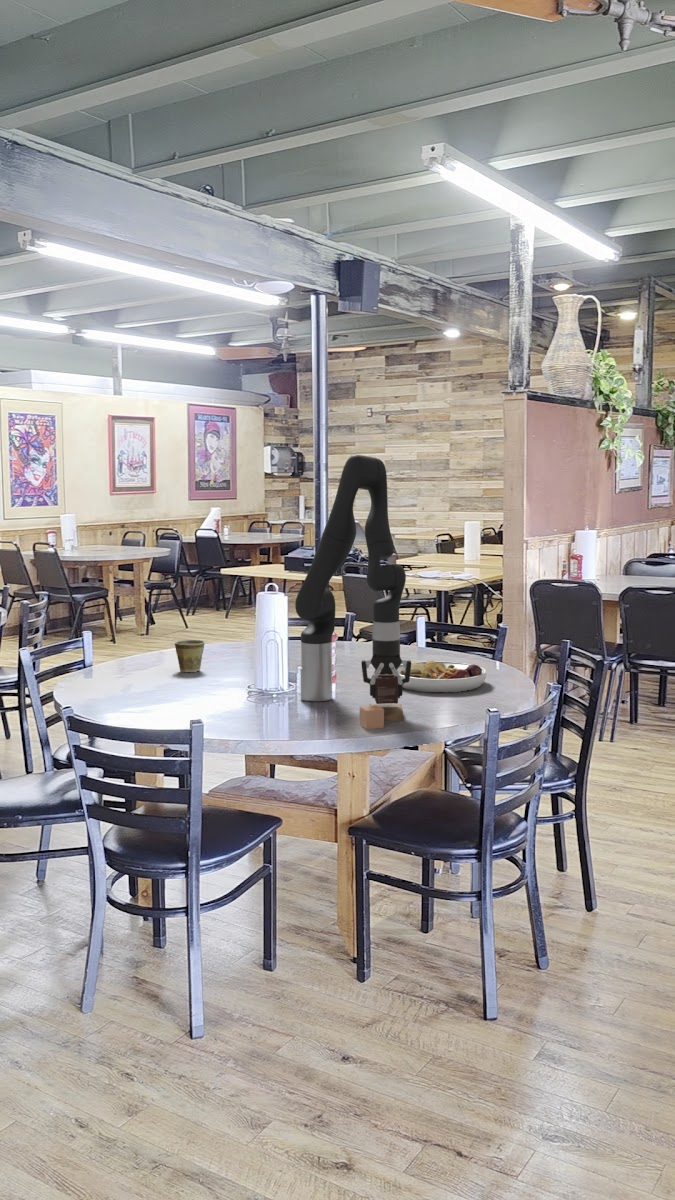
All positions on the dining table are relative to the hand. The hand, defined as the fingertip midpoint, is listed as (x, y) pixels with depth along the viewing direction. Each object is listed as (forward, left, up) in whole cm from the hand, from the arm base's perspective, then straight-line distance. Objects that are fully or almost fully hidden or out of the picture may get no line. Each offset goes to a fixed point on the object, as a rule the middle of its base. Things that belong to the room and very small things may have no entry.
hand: (386, 697), depth 277 cm
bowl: (+18, +44, -6) cm, 48 cm away
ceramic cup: (-65, +67, -6) cm, 94 cm away
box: (0, 0, -1) cm, 1 cm away
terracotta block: (-4, -10, -6) cm, 12 cm away
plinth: (0, 0, -6) cm, 6 cm away
